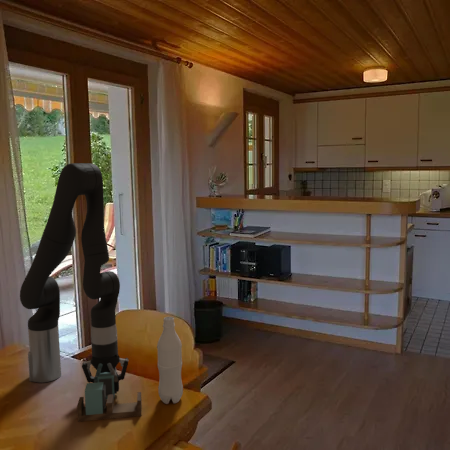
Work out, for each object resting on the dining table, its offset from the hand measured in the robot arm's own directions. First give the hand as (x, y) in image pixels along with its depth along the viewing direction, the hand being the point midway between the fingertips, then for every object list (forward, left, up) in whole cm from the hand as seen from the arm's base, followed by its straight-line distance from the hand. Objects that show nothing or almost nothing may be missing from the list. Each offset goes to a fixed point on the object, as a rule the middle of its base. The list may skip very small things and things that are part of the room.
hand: (106, 393), depth 143 cm
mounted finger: (-2, -11, +1) cm, 11 cm away
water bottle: (+19, -6, -1) cm, 20 cm away
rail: (+2, -11, -1) cm, 11 cm away
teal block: (0, 0, -1) cm, 1 cm away
